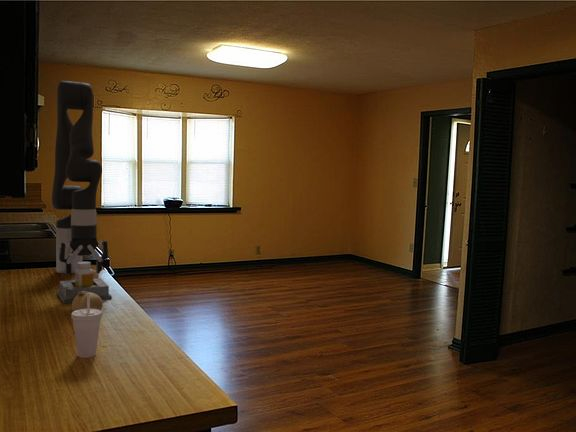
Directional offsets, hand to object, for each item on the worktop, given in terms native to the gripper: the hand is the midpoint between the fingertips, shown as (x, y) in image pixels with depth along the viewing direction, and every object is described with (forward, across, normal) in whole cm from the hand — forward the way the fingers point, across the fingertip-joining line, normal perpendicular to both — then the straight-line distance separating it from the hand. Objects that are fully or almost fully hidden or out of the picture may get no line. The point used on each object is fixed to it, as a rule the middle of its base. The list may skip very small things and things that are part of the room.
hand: (83, 274), depth 166 cm
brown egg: (+7, -4, -15) cm, 17 cm away
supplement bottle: (+6, 0, 0) cm, 6 cm away
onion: (+7, +3, +22) cm, 23 cm away
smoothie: (+7, +9, +54) cm, 55 cm away
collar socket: (+7, 0, 0) cm, 7 cm away
